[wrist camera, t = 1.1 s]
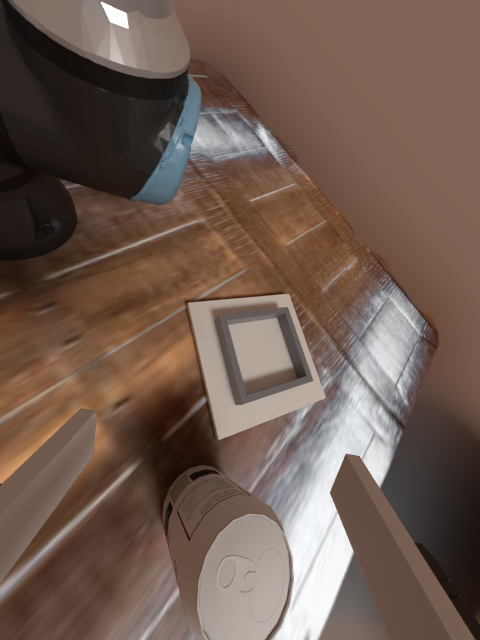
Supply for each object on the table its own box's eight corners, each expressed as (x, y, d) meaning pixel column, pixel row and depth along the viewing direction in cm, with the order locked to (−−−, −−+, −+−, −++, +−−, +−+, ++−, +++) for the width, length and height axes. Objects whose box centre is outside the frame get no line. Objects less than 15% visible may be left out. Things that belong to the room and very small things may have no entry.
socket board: (186, 305, 36) (191, 295, 33) (285, 296, 45) (296, 287, 42) (215, 439, 31) (225, 442, 28) (321, 398, 40) (336, 397, 37)
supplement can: (236, 475, 31) (309, 519, 18) (213, 555, 27) (285, 687, 14) (181, 454, 29) (217, 487, 16) (148, 537, 25) (161, 668, 12)
